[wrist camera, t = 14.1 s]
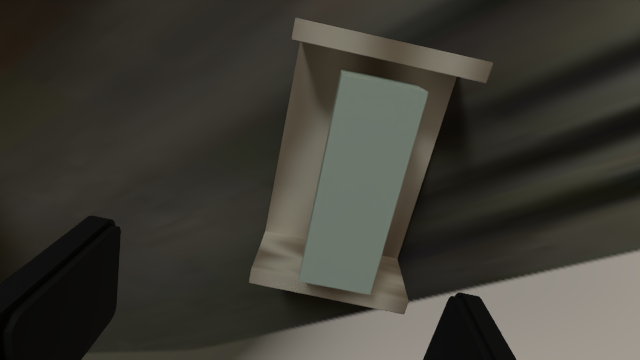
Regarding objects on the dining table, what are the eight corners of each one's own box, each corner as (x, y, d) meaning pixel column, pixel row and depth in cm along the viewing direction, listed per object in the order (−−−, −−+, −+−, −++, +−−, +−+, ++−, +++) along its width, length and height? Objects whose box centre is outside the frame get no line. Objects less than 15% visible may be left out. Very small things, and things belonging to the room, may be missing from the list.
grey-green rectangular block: (341, 68, 26) (341, 74, 22) (415, 84, 26) (428, 92, 22) (303, 251, 31) (298, 281, 27) (366, 263, 31) (370, 294, 27)
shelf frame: (266, 235, 37) (248, 282, 30) (305, 21, 30) (295, 17, 23) (391, 261, 37) (403, 314, 30) (457, 56, 30) (493, 62, 23)
